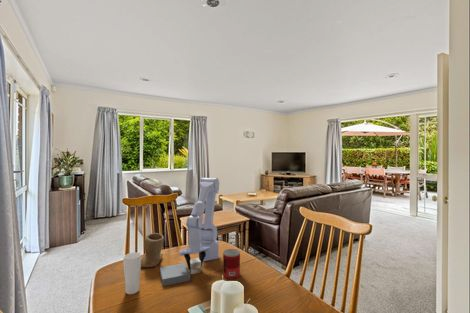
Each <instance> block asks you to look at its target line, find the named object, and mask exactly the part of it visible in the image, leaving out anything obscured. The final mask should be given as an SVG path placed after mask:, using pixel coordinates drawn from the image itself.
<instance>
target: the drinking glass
mask: <svg viewBox="0 0 470 313" xmlns="http://www.w3.org/2000/svg"><path fill="white" fill-rule="evenodd" d="M141 260H142V254H141V253H140V252H134V251H133V252H129V253H127V254H124V255H123V275H124V276H123V277H124V285H125V290H124V291H125V293H126V294H128V295H134V294H137V293H138V292H139V291H140V284H141V283H140V281H141V268H142V267H141Z"/></svg>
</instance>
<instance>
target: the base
mask: <svg viewBox="0 0 470 313" xmlns="http://www.w3.org/2000/svg"><path fill="white" fill-rule="evenodd" d="M159 275H160V276H159V277H160V280H161V285H162V287H166V286H170V285H176V284H181V283H184V282H189V281H191V273H190V271H189V269H188V265H187V263H186V262H182V263H178V264H177V263H176V264H171V265H165V266H160V267H159Z"/></svg>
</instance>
